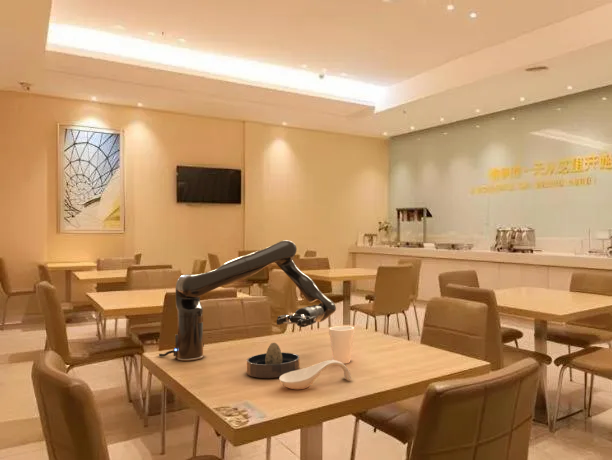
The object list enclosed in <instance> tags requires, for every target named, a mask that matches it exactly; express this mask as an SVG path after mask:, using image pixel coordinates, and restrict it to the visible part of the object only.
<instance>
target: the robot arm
mask: <svg viewBox="0 0 612 460" xmlns="http://www.w3.org/2000/svg"><path fill="white" fill-rule="evenodd" d="M296 254H297V244H295V242H293V241H291V240H287V239H285V240H280V241H278V242H276V243H274V244H272V245H269V246H267V247H265V248H262V249H260V250H257V251H254V252H251V253H247V254H245V255H242V256H239V257H236V258H232V259H231V260H228V261H226V262H225V263H223V264H222V265H220V266H218V267H217V268H215V269H213V270H209V271H207V272H204V273H199V274H191V273H185V274H183V275H181V276H180V277H178V279H177V281H176V283H175V308H176V311H177V334H175V341H174V342H175V343H174V344H175V347H173V349H172V350H168V351H167V352H165V353H158V356H159V357H166V356H168V355H171V354H173V357H175V358H174V359H175V360H177V361H181V362H189V361H198V360H201V359H204V347H205V346H204V345H205V344H204V308H203V305H202V303H201V297H202V296H204V295H206V294H208V293H210V292H212V291H214V290H216V289H219V288H221V287H223V286H227V285H230V284H233V283H236V282H240V281H242V280H246V279H247V278H250V277H252V276H254V275H256V274H257V273H259V272H261V271H263V269H265V268H266V267H268V266H270V265H271V264H274V263H275V264H276V265H277V267H279V268H280V270H282V271H283V272H284V273H285V275H286V276H287V277H288V278H289V279H290V280H291V282H293V284H294V285H295V286H296V287H297V289H299V291H300V293H301V294H302V296H303V297H304V299H305V300H306V301H307V302H308V303H309V304H313V303H314V302H316V301H318V302H320V303H318V304H313V305H308V306H304V307H301V308H298V309H297V310H296V311H295V312H294V313H293V314H285V313H284V314H281V315H278V316H277V319H276V325H277V326H281V325H284V324H287V325H296V326H297V327H299V328H306V327H309V326H311V325H313V324H316V323H323V322H325V320H327V319H329V317H330V316H332V315H333V314H334V313H336V310H337V305H336V303H335V302H334V301H333V300H332V299H331V298H329V297H328V296H326V294H324V293H323V292H322V291H321V290H320V289H319V287H318V286H317V284H316V283H315V281H314V280H313V279H312V278H311V277H310V276H308V275H307V274H305V273H304V272H303V271H301V269H300V268H299V267H298V266H297V264H296V263H295V261H294V258H295V256H296Z"/></svg>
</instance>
